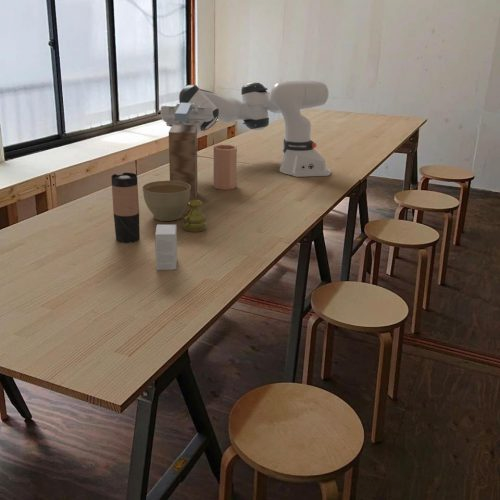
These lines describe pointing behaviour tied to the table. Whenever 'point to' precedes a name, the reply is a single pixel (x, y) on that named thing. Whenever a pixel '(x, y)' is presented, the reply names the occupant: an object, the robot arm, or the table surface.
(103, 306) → the table surface
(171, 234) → the small box
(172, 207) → the planter bowl
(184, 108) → the lid slat
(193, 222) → the olive green tiered figure
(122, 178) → the travel mug
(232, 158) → the crock
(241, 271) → the table surface
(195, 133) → the stand
